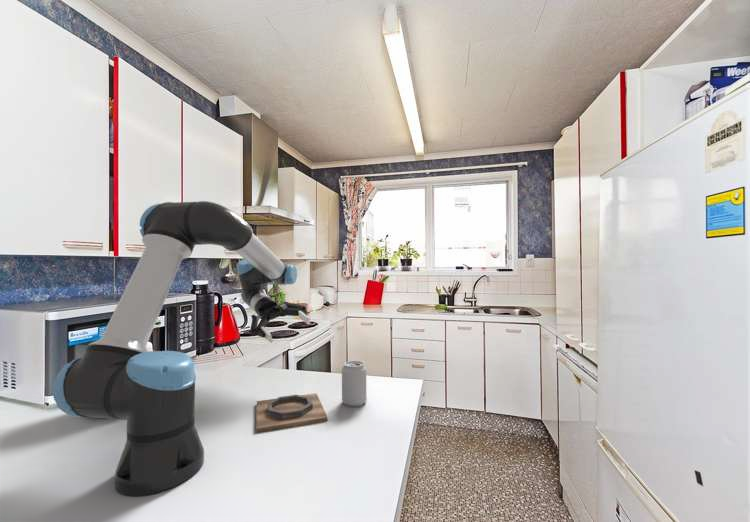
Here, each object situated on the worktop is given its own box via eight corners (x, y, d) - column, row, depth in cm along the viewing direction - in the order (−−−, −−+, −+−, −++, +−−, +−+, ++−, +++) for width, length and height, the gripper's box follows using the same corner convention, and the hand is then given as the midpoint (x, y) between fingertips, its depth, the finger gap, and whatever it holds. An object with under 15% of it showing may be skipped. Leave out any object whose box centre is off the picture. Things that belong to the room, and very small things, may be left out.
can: (371, 402, 101) (371, 362, 101) (353, 410, 95) (353, 368, 95) (354, 395, 106) (354, 358, 106) (336, 403, 100) (336, 363, 100)
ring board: (327, 420, 89) (327, 411, 89) (256, 432, 83) (256, 422, 83) (316, 396, 106) (316, 388, 106) (256, 404, 100) (256, 396, 100)
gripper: (296, 302, 132) (324, 323, 117) (233, 328, 118) (256, 356, 102) (293, 285, 129) (321, 305, 114) (228, 310, 115) (250, 336, 99)
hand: (290, 329), depth 108 cm, fingers open, 13 cm apart
